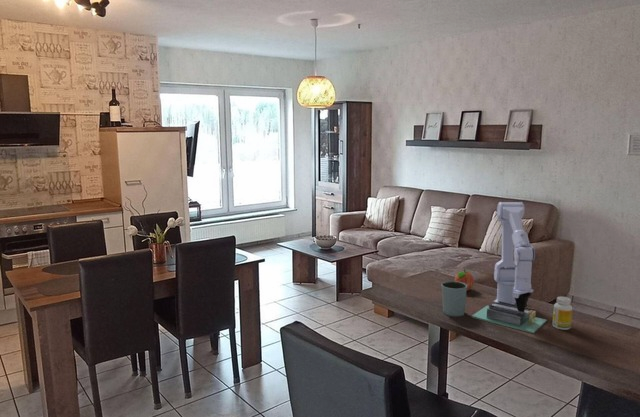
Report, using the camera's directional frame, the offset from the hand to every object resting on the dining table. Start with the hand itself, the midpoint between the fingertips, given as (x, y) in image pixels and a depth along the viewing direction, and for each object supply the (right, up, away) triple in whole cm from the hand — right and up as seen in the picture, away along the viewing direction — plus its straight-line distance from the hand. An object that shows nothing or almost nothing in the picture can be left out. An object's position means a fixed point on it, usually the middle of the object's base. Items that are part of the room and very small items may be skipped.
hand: (521, 310), depth 188 cm
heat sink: (-2, -4, +3) cm, 5 cm away
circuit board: (-3, -4, +4) cm, 7 cm away
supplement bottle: (+14, -6, -4) cm, 15 cm away
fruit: (-11, +1, +39) cm, 40 cm away
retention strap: (-3, 0, +3) cm, 4 cm away
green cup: (-23, -3, +12) cm, 26 cm away
